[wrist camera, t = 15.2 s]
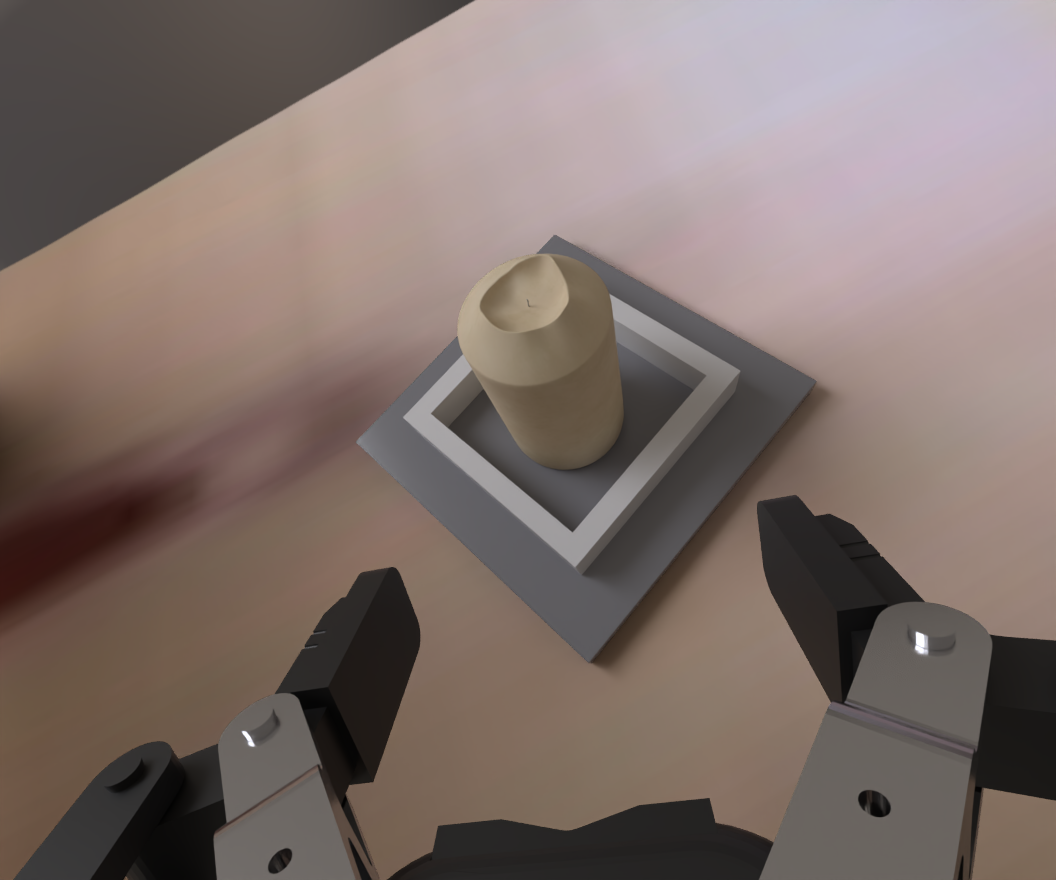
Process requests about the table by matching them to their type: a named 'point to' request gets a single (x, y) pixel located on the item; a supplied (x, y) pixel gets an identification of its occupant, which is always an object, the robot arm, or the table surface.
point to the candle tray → (607, 484)
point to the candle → (547, 357)
